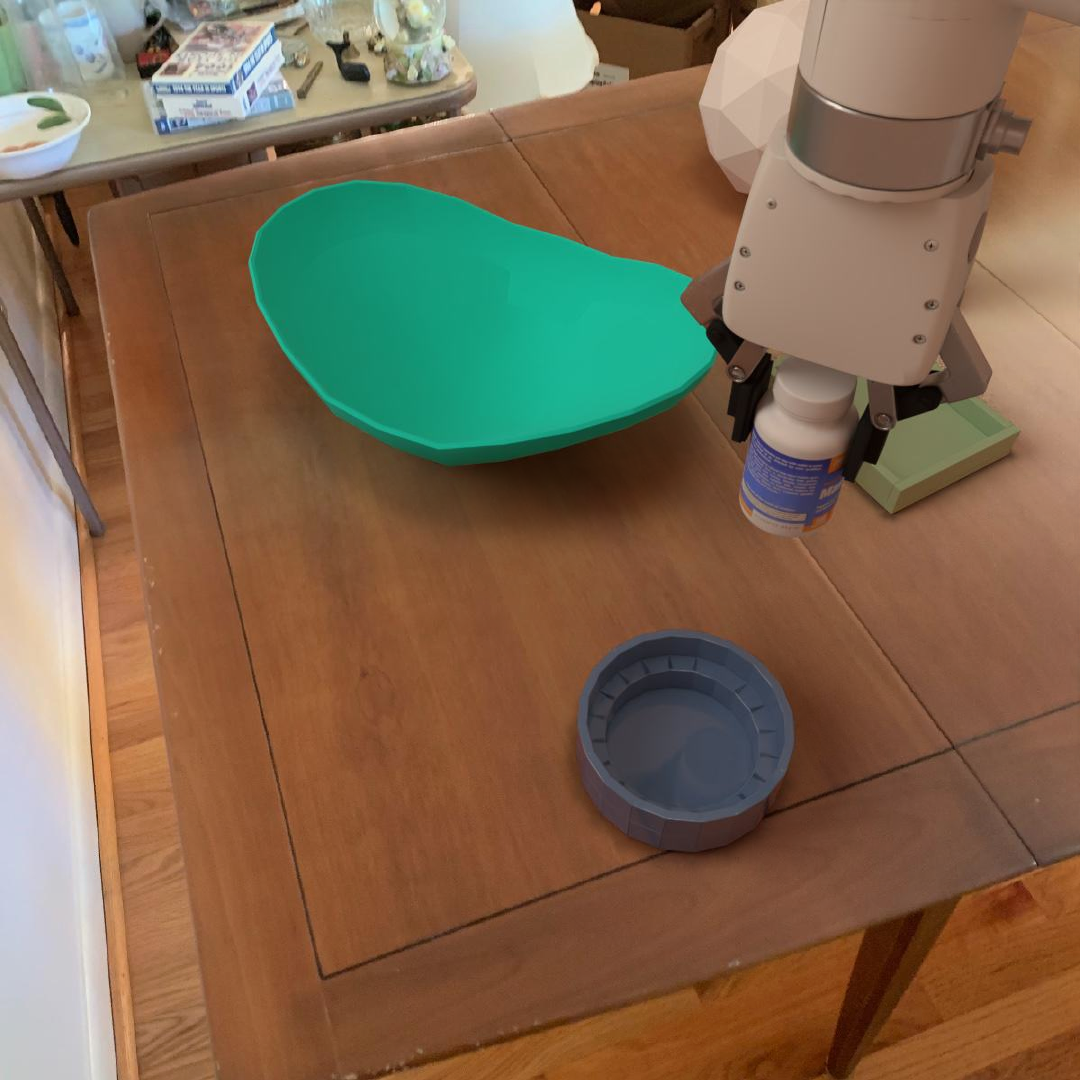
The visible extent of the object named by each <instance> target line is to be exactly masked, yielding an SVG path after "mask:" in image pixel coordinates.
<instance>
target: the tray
mask: <svg viewBox="0 0 1080 1080" xmlns="http://www.w3.org/2000/svg"><path fill="white" fill-rule="evenodd" d="M788 356H790V355H788V354H785V355H783V356H781V357H778V358H776V359H773V361H774V363H773V368H772V372H771V377H770V382H769V386H768V390H769V389H770V388H771V387H773V383H774V380H775V376H776V373H777V369H778V367H779V365H780V363H781V362H782V361H783V360H784V359H785V358H787V357H788ZM931 370H938V371H943V370H944V368H942V367H941V366H939V365H938V363H936V362H935V363H934V365H933V366H932V368H931ZM931 370H930V371H931ZM868 402H869V398H868V389H867V379H866V378H863V377H859V376H857V387H856V391H855V397H854V401H853V403H854V405H855V406H856V408H857V410H858V413H859V419H861V417H862V415H863V413H864V411H865V408H866V406H867V404H868ZM1021 432H1022V430H1021V429H1020V428H1019V427H1018V426H1017V425H1015V424H1014V423H1012V421H1010V420H1009V419H1007V418H1006V417H1005V416H1004V415H1002V414H1001V413H1000V412H998V411H997V409H994V408H993V407H992V406H991V405H990V404H988V403H987V402H985V401H984V400H983V399H982V398H980V396H976V397H973V398H969V399H965V400H961V401H957V402H953V403H950V404H949V403H948V402H947V403H943V404H940V405H939V406H938V407H937V408H936V409H934V410H932V411H929V412H926V413H923V414H920V415H917V416H914V417H911V418H907V419H904V420H901V421H898V422H897V423H896V425H895V427H894V428H893V429H891V430H890V431H889V434H888V437H887V440H886V442H885V445H884V448H883V450H882V453H881V455H880V457H879V460H878V462H877V464H876V465H873V464H870V463H867V462H863V464H862V466H861V468H860V470H859V472H858V475H857V477H856V479H855V481H854V482H856V483H857V484H858V485H859V486H860V487H861V488H862V489H863V490H864V491H865V492H866V493H867V494H868V495H869V496H870V497H872V498H873V499H874V500H875V501H876V502H877V503H878V504H879V505H880V506H881V507H882V508H883V509H884V510H885V511H886V512H888V513H889V514H890V515H893V514H895V513H897V512H899V511H901V510H903V509H905V508H907V507H909V506H910V505H913V504H915V503H917V502H919V501H921V500H923V499H924V498H926V497H929V496H930V495H932V494H934V493H936V492H938V491H941V490H942V489H944V488H946V487H948V486H949V485H952V484H954V483H956V482H958V481H960V480H961V479H963V478H966V477H968V476H969V475H971V474H973V473H975V472H977V471H979V470H981V469H982V468H983V469H984V468H985V467H987V466H989V465H990V464H993V463H994V462H996V461H999V460H1000V459H1002V458H1004V457H1006V456H1008V455H1009V454H1010V453H1011V451H1012V449H1013V447H1014V445H1015V444H1016V441H1017V440H1018V438H1019V436H1020V434H1021Z"/></svg>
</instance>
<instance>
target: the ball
mask: <svg viewBox="0 0 1080 1080" xmlns="http://www.w3.org/2000/svg"><path fill="white" fill-rule="evenodd" d="M809 4H810V0H780V1H777V2H774V3H771V4H767V5H764V6H761V7H757V8H754V9H753V10H752V12H750V13H749V14H748V16H747V17H745V18H744V20H743V21H741V23H740V24H739V25H738V26H737V27H736V28H735V29H734V30H733V31H732V32H731V33H730V34H729V35H728V36H727V37H726V39H725V40H724V41H722V43H720V44H719V46H717V49H716V52H715V55H714V58H713V61H712V63H711V67H710V70H709V73H708V76H707V79H706V81H705V84H704V87H703V90H702V92H701V95H700V98H699V101H698V108H699V113H700V116H701V121H702V125H703V130H704V134H705V139H706V143H707V148H708V152H709V153H710V155H711V156H712V158H713V159H714V161H715V162H716V164H717V165H718V167H719V168H720V170H721V171H722V172H723V174H724V175H725V176H726V178H727V180H728V181H729V182H730V184H731V185H732V187H733V188H734V190H735V191H736V192H738V193H741V194H744V195H747V196H749V193H750V189H751V186H752V183H753V180H754V177H755V174H756V171H757V169H758V166H759V163H760V161H761V158H762V155H763V153H764V150H765V148H766V145H767V143H768V141H769V138H770V136H771V134H772V132H773V130H774V128H775V126H776V124H777V122H778V121H779V120H780V119H781V118H782V117H783V116H784V115H786V114H788V113H789V110H790V105H791V100H792V94H793V89H794V83H795V78H796V72H797V67H798V63H799V58H800V52H801V46H802V40H803V35H804V29H805V24H806V19H807V14H808V9H809Z"/></svg>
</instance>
